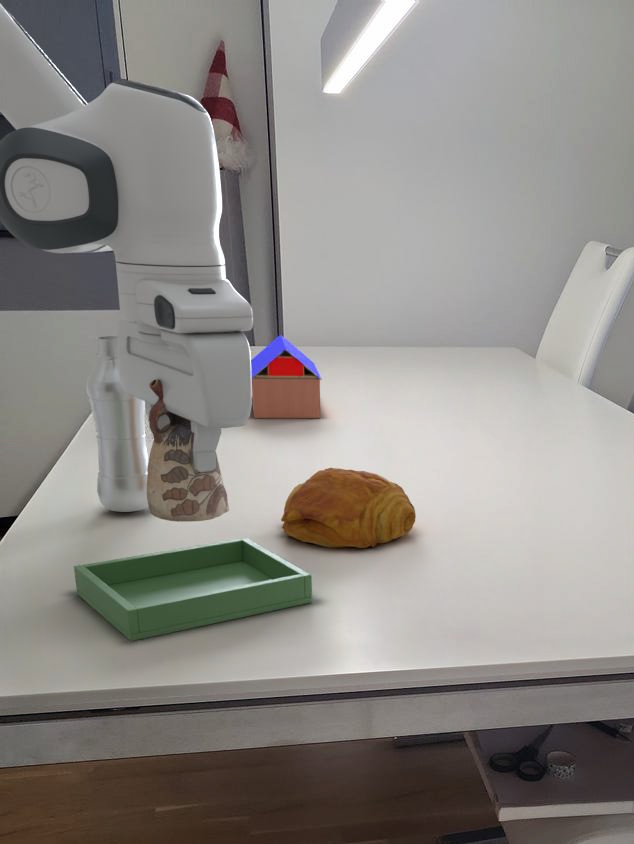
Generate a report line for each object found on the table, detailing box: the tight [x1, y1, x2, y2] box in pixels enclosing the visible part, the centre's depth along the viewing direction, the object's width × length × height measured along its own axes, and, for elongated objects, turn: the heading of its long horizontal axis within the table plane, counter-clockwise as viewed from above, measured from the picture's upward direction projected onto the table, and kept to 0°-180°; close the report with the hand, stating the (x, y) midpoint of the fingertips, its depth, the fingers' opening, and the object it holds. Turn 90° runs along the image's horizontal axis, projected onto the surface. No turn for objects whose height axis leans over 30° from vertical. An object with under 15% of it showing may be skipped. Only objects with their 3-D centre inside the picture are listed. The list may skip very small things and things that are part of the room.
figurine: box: [147, 379, 230, 523], centre depth 92 cm, size 7×7×12 cm
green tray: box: [73, 537, 313, 642], centre depth 97 cm, size 18×14×3 cm
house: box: [251, 334, 322, 419], centre depth 186 cm, size 12×20×12 cm, turn 12°
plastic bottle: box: [85, 335, 149, 513], centre depth 120 cm, size 6×7×20 cm
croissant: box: [280, 467, 417, 549], centre depth 118 cm, size 14×16×8 cm
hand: (184, 460), depth 93 cm, fingers closed on figurine, 6 cm apart
